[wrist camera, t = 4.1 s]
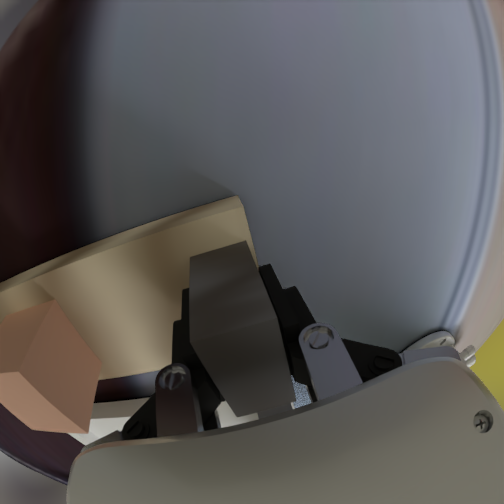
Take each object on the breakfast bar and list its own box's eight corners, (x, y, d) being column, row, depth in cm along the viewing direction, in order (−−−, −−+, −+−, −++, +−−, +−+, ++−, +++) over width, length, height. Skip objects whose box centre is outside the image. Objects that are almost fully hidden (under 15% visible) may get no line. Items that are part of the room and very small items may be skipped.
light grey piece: (282, 366, 19) (310, 444, 13) (293, 410, 23) (314, 469, 17) (68, 404, 18) (57, 464, 12) (114, 440, 22) (112, 491, 16)
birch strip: (237, 195, 12) (276, 269, 7) (270, 320, 16) (304, 413, 10) (-24, 294, 11) (-65, 356, 5) (33, 370, 15) (13, 435, 9)
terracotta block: (55, 299, 11) (18, 371, 7) (102, 363, 14) (88, 433, 9) (5, 315, 11) (-27, 374, 6) (49, 370, 13) (31, 429, 9)
